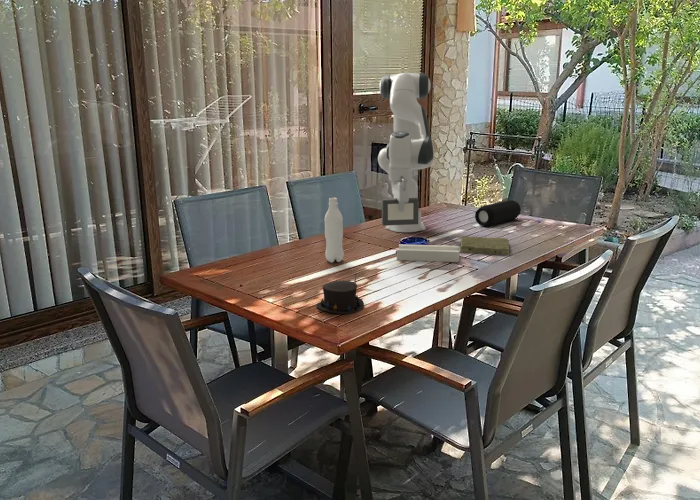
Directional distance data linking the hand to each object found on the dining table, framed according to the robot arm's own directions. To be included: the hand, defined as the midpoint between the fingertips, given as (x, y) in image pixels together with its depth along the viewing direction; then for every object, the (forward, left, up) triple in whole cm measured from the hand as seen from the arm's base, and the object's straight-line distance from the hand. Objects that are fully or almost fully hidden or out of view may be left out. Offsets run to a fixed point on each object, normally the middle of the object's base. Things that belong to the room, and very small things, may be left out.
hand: (400, 210), depth 244 cm
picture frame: (0, 0, -6) cm, 6 cm away
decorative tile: (-17, +33, -20) cm, 42 cm away
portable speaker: (-66, +40, -20) cm, 80 cm away
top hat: (+58, -12, -20) cm, 63 cm away
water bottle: (+9, -25, -19) cm, 33 cm away
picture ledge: (0, +11, -19) cm, 22 cm away
